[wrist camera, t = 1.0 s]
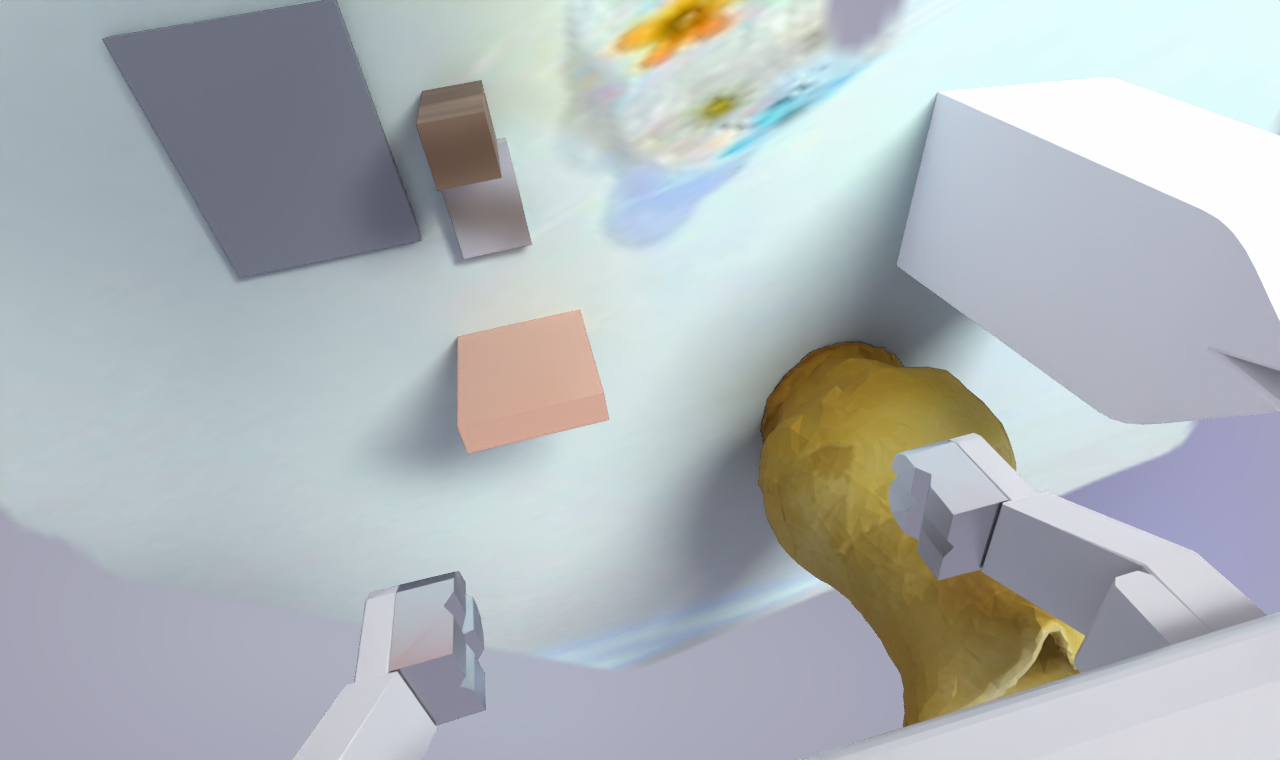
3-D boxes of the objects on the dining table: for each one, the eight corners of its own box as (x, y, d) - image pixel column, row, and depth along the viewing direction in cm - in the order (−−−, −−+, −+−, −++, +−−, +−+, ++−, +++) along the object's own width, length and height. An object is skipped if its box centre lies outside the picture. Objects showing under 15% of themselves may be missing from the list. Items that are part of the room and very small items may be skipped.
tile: (457, 336, 42) (457, 427, 35) (579, 309, 42) (603, 392, 35) (467, 362, 43) (468, 455, 36) (585, 335, 44) (609, 421, 37)
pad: (106, 37, 29) (102, 39, 28) (335, -2, 30) (333, -1, 29) (242, 274, 36) (239, 278, 36) (421, 237, 37) (421, 240, 37)
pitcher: (976, 322, 50) (1273, 613, 31) (871, 486, 61) (1043, 775, 42) (776, 299, 45) (982, 627, 26) (702, 482, 56) (809, 806, 37)
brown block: (412, 93, 33) (404, 126, 28) (490, 78, 33) (495, 109, 29) (464, 252, 38) (464, 303, 34) (530, 238, 39) (540, 286, 34)
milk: (896, 265, 46) (1242, 562, 26) (937, 91, 39) (1458, 310, 19) (1045, 245, 48) (1478, 507, 27) (1110, 76, 41) (1754, 260, 21)
